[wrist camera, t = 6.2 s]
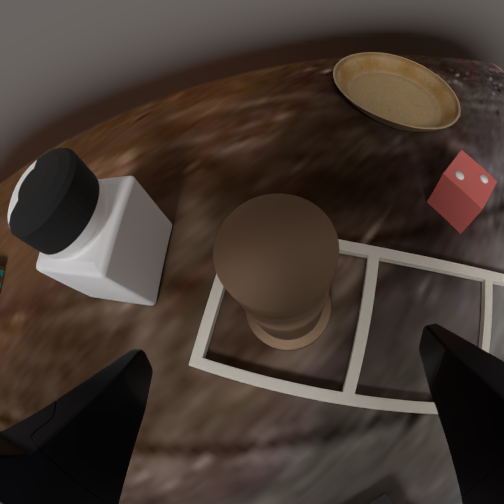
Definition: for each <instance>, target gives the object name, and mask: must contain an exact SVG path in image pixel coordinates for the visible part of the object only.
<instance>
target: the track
mask: <svg viewBox="0 0 504 504" xmlns="http://www.w3.org/2000/svg"><path fill="white" fill-rule="evenodd" d="M338 241H339V253H340V254H346V255H351V256H356V257H362V258H367V263H366V270H365V278H364V284H363V291H362V297H361V303H360V309H359V315H358V320H357V326H356V331H355V336H354V341H353V346H352V350H351V355H350V359H349V364H348V368H347V372H346V376H345V380H344V384H343V388H342V392H340V391H335V390H329V389H324V388H319V387H313V386H309V385H304V384H299V383H294V382H290V381H286V380H281V379H277V378H273V377H269V376H265V375H261V374H257V373H253V372H250V371H246V370H242V369H239V368H235V367H232V366H228V365H225V364H222V363H218V362H215V361H212V360H209V359H205V357H206V354H207V350H208V347H209V343H210V340H211V337H212V333H213V330H214V326H215V323H216V320H217V316H218V313H219V310H220V306H221V303H222V300H223V296H224V293H225V290H226V289H225V288H224V286H223V285H222V283H221V282H220V280H219V278H218V276H217V274H216V277H215V280H214V283H213V286H212V289H211V293H210V296H209V299H208V302H207V306H206V309H205V312H204V315H203V319H202V322H201V325H200V328H199V332H198V335H197V338H196V342H195V345H194V348H193V352H192V355H191V359H190V362H189V366H192V367H195V368H198V369H201V370H204V371H207V372H210V373H213V374H216V375H220V376H223V377H226V378H229V379H233V380H236V381H240V382H243V383H247V384H250V385H254V386H258V387H262V388H266V389H269V390H273V391H278V392H282V393H286V394H290V395H295V396H300V397H304V398H309V399H314V400H319V401H325V402H330V403H336V404H342V405H348V406H355V407H362V408H370V409H378V410H387V411H397V412H409V413H424V414H438V412H437V409H436V406H435V403H434V402H422V401H410V400H399V399H390V398H381V397H373V396H366V395H359V394H355V391H356V387H357V383H358V379H359V375H360V370H361V366H362V362H363V357H364V352H365V347H366V342H367V337H368V332H369V327H370V321H371V315H372V309H373V302H374V296H375V288H376V281H377V273H378V264H379V261H382V262H387V263H393V264H398V265H403V266H408V267H413V268H418V269H423V270H428V271H433V272H438V273H443V274H448V275H452V276H457V277H462V278H467V279H472V280H476V281H481V282H482V298H481V321H480V334H479V344H478V347H479V348H481V349H483V350H484V351H486V352H488V353H489V347H490V337H491V323H492V284H495V285H500V286H504V274H502V273H497V272H493V271H489V270H485V269H480V268H476V267H471V266H467V265H463V264H458V263H454V262H449V261H444V260H440V259H435V258H430V257H426V256H421V255H416V254H411V253H406V252H402V251H397V250H392V249H387V248H382V247H376V246H371V245H366V244H361V243H356V242H350V241H345V240H340V239H338Z"/></svg>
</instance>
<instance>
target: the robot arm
mask: <svg viewBox="0 0 504 504" xmlns="http://www.w3.org/2000/svg"><path fill="white" fill-rule="evenodd" d="M419 351H420V355H421V359H422V362H423V366H424V370H425V373H426V377H427V381H428V385H429V389H430V392H431V395H432V398H433V401H434V403H435V406H436V409H437V412H438V415H439V418H440V421H441V424H442V427H443V430H444V433H445V436H446V439H447V443H448V446H449V449H450V453H451V456H452V460H453V464H454V467H455V471H456V475H457V479H458V483H459V488H460V492H461V496H462V497H461V498H462V503H463V504H504V362H503V361H502V360H500V359H498V358H496V357H495V356H493V355H491V354H490V353H488V352H486V351H484V350H483V349H481V348H479V347H477V346H476V345H474V344H472V343H470V342H468V341H467V340H465V339H463V338H461V337H460V336H458V335H456V334H454V333H452V332H451V331H449V330H447V329H445V328H443V327H442V326H440V325H438V324H431V325H426V326H425V327H424V329H423V333H422V337H421V341H420V346H419ZM151 378H152V367H151V365H150V362H149V360H148V358H147V356H146V354H145V352H144V351H143V350H138V349H132V350H130V351H129V352H127V353H126V354H124V355H123V356H121V357H120V358H118V359H117V360H115V361H114V362H112V363H111V364H110V365H108V366H107V367H105V368H104V369H102V370H101V371H99V372H98V373H96V374H95V375H93V376H92V377H90V378H89V379H87V380H86V381H84V382H83V383H81V384H80V385H78V386H77V387H75V388H74V389H72V390H71V391H69V392H68V393H66V394H65V395H63V396H62V397H60V398H59V399H57V401H54V402H53V403H51V404H50V405H48V406H47V407H45V408H44V409H42V410H40V411H39V412H37V413H35V414H34V415H32V416H30V417H28V418H26V419H25V420H23V421H21V422H19V423H17V424H15V425H13V426H11V427H10V428H8V429H6V430H4V431H1V432H0V504H119V500H120V496H121V492H122V488H123V484H124V481H125V477H126V473H127V470H128V466H129V463H130V459H131V455H132V452H133V449H134V445H135V442H136V438H137V435H138V432H139V428H140V425H141V422H142V419H143V415H144V412H145V408H146V403H147V398H148V393H149V388H150V383H151Z"/></svg>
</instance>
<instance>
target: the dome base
mask: <svg viewBox="0 0 504 504" xmlns="http://www.w3.org/2000/svg"><path fill="white" fill-rule="evenodd" d="M368 504H393V503H392V502H391V501H390V499H389V498H388V496H387V495H386V494H383V495H382V496H380V497H379V498H377V499H375V500H374V501H372V502H370V503H368Z"/></svg>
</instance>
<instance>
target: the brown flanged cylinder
mask: <svg viewBox="0 0 504 504" xmlns="http://www.w3.org/2000/svg"><path fill="white" fill-rule="evenodd" d="M338 259H339V241H338V236H337V233H336V230H335V228H334V226H333V224H332V222H331V220H330V219H329V218H328V216H327V215H326V214H325V213H324V212H323V211H322V210H321V209H320V208H319V207H318V206H316V205H315V204H313V203H312V202H310V201H308V200H306V199H304V198H301V197H298V196H295V195H290V194H282V193H278V194H266V195H262V196H258V197H255V198H253V199H250V200H248V201H246V202H244V203H243V204H241V205H240V206H238V207H237V208H236V209H234V210H233V211H232V212H231V213H230V214H229V215H228V216H227V217H226V219H225V220H224V221H223V223H222V224H221V226H220V228H219V230H218V232H217V235H216V237H215V241H214V246H213V262H214V267H215V271H216V274H217V276H218V278H219V280H220V282H221V283H222V285H223V286H224V288H225V289H226V290H227V291H228V292H229V293H230V294H231V295H232V297H233V298H234V299H235V300H236V301H237V302H238V303H239V304H240V305H241V306H242V307H243V308H244V310H245V311H246V317H247V321H248V323H249V326H250V328H251V329H252V331H253V332H254V334H255V335H256V336H257V337H258V338H259V339H260V340H261V341H263V342H264V343H266V344H267V345H269V346H271V347H273V348H276V349H280V350H297V349H301V348H303V347H306V346H308V345H310V344H311V343H313V342H314V341H315V340H316V339H317V338H319V337H320V335H321V334H322V333H323V331H324V330H325V328H326V326H327V324H328V322H329V319H330V315H331V299H330V295H329V290H330V287H331V283H332V280H333V277H334V274H335V271H336V267H337V263H338Z"/></svg>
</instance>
